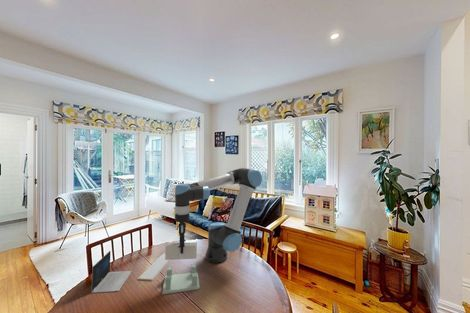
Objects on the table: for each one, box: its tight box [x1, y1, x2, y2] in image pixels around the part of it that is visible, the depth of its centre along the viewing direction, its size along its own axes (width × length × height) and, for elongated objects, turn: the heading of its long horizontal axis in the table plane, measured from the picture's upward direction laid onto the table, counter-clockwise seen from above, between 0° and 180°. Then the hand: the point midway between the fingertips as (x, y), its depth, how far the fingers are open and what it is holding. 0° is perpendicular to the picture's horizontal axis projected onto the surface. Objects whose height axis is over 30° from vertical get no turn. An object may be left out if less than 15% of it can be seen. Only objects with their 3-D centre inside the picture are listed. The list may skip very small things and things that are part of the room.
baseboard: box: [136, 252, 171, 282], centre depth 124 cm, size 30×3×10 cm
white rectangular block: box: [164, 241, 198, 261], centre depth 107 cm, size 16×4×7 cm, turn 96°
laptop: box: [90, 250, 132, 294], centre depth 108 cm, size 18×12×13 cm
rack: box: [161, 264, 200, 295], centre depth 107 cm, size 18×14×6 cm
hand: (181, 256), depth 107 cm, fingers closed on white rectangular block, 4 cm apart
